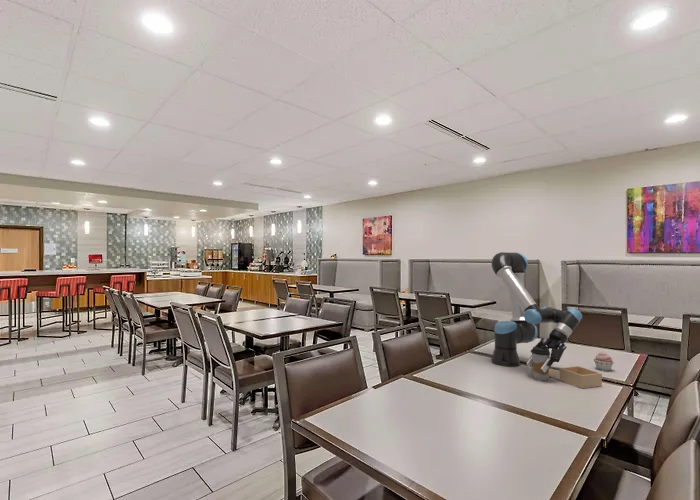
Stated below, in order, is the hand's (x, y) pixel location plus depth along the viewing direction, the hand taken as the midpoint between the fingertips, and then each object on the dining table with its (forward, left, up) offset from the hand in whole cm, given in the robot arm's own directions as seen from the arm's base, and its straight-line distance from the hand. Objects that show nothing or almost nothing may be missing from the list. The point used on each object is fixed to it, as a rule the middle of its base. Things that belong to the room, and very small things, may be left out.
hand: (535, 367), depth 180 cm
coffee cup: (0, +3, -6) cm, 7 cm away
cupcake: (-3, +50, -6) cm, 51 cm away
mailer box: (+3, +17, -6) cm, 18 cm away
